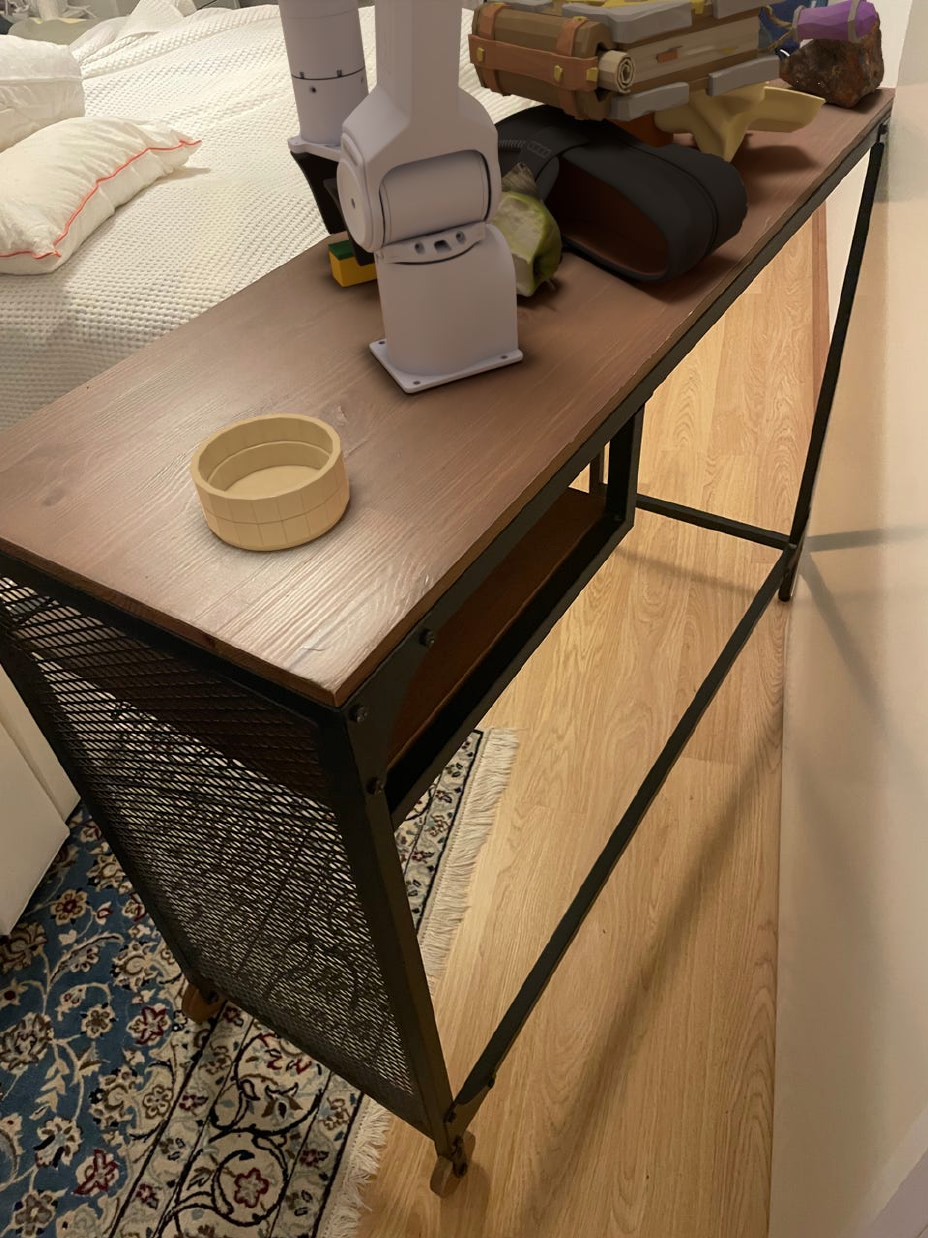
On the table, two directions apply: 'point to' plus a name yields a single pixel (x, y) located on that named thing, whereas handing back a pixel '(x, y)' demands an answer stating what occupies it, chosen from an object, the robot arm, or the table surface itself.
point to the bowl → (271, 481)
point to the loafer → (625, 192)
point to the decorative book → (638, 49)
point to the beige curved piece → (738, 116)
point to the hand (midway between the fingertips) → (354, 246)
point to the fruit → (528, 231)
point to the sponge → (349, 265)
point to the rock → (837, 67)
